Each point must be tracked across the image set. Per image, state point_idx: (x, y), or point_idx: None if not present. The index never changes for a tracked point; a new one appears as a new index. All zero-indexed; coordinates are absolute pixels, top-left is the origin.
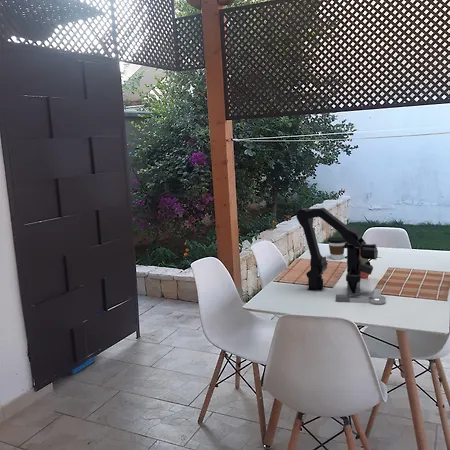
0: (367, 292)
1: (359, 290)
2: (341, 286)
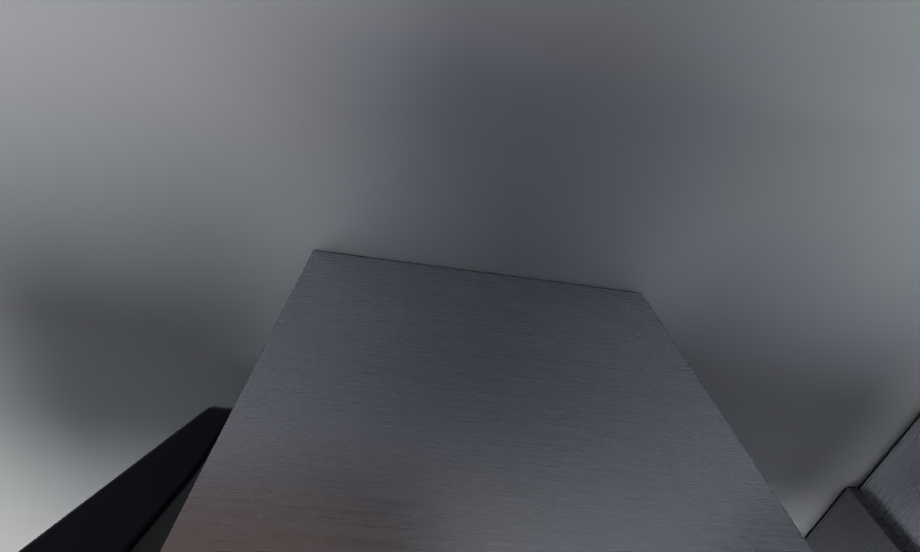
0: (399, 43)
1: (695, 396)
2: (11, 544)
